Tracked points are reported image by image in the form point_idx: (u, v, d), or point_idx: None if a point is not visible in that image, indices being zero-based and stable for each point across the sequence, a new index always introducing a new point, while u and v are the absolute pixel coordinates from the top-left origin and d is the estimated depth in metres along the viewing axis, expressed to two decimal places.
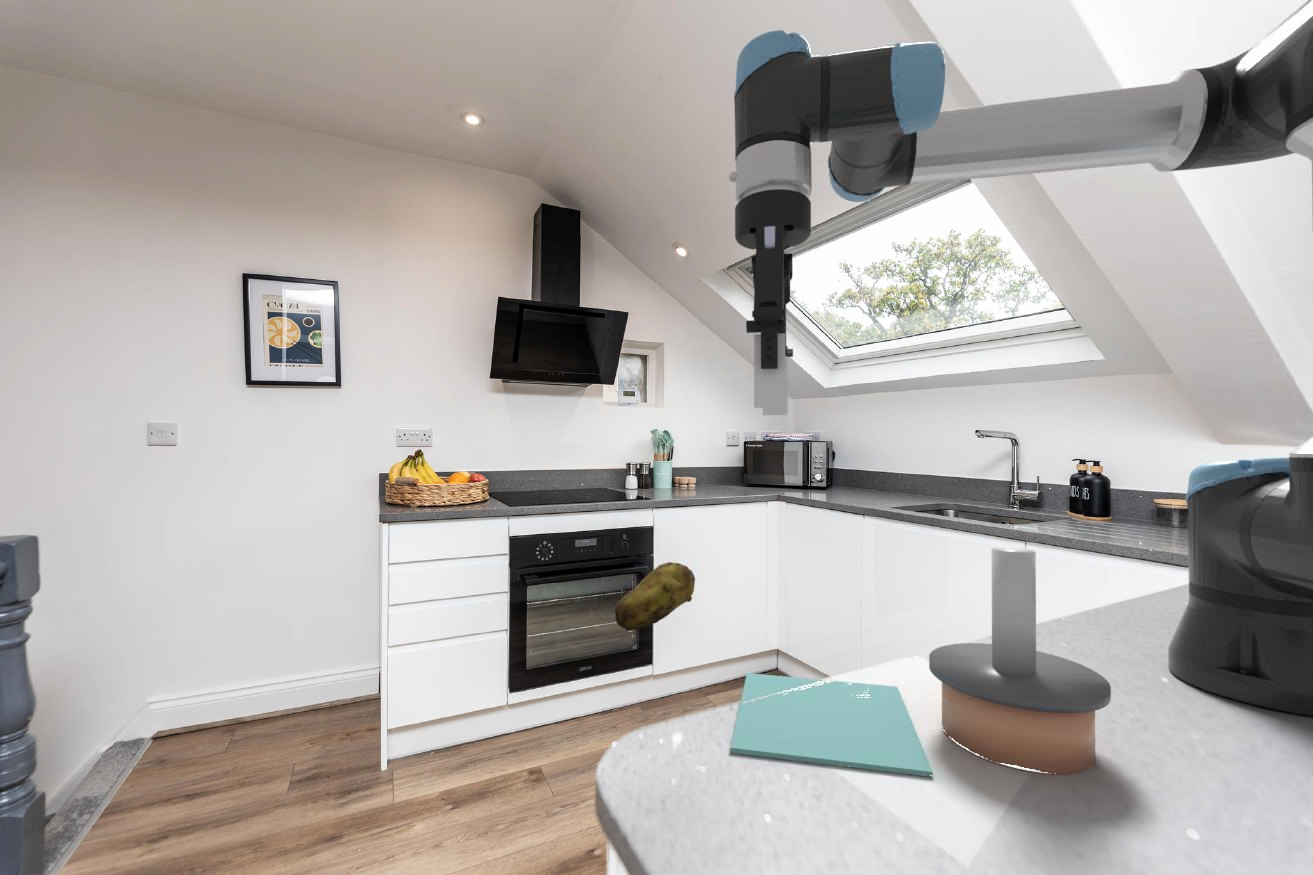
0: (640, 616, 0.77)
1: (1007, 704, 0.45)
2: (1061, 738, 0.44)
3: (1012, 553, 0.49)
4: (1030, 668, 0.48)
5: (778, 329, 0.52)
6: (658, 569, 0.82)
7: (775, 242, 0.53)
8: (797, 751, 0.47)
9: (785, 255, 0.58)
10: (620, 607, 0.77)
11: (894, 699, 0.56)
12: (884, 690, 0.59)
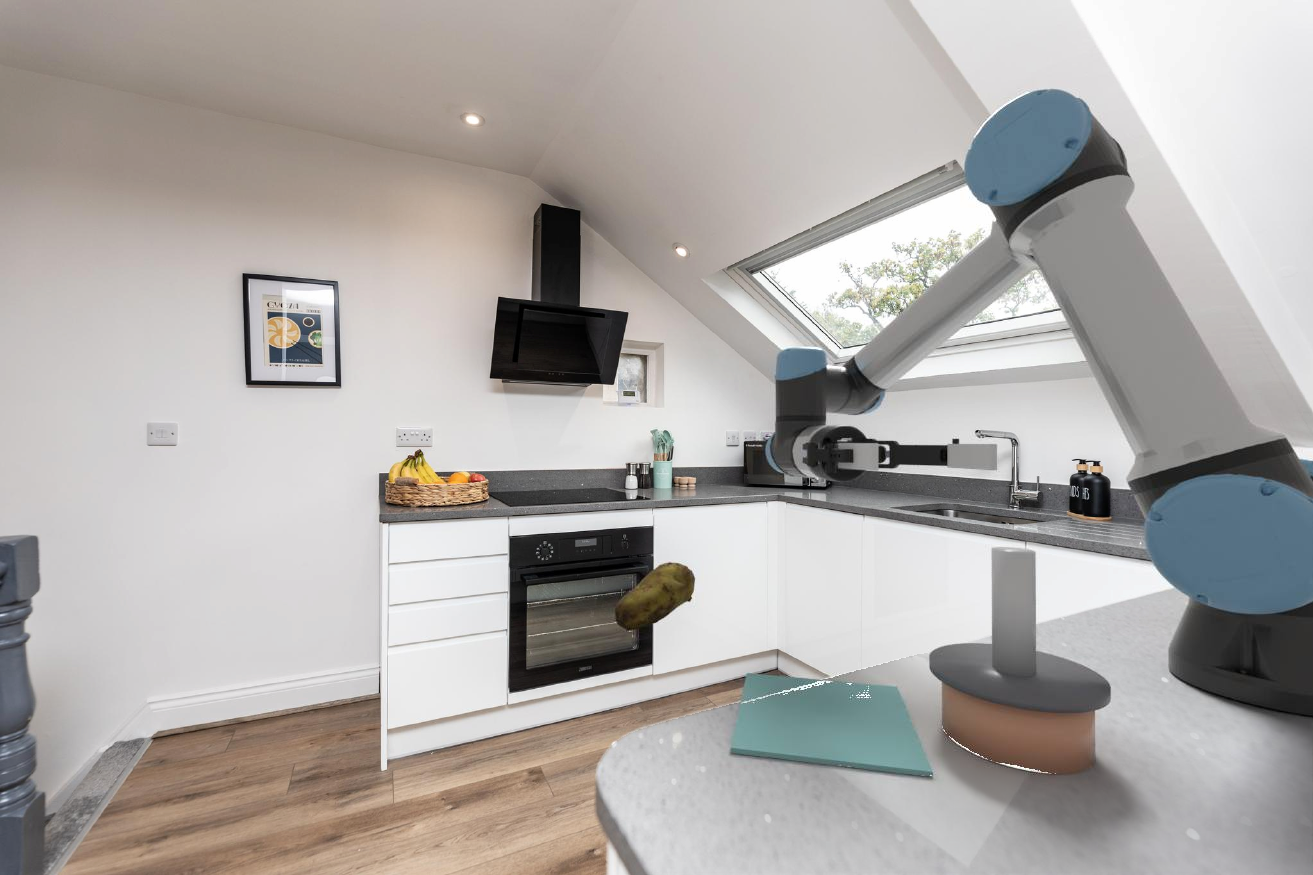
0: (640, 616, 0.77)
1: (1007, 704, 0.45)
2: (1061, 738, 0.44)
3: (1012, 553, 0.49)
4: (1030, 668, 0.48)
5: (829, 447, 0.65)
6: (658, 569, 0.82)
7: (806, 449, 0.73)
8: (797, 751, 0.47)
9: None
10: (620, 607, 0.77)
11: (894, 699, 0.56)
12: (884, 690, 0.59)
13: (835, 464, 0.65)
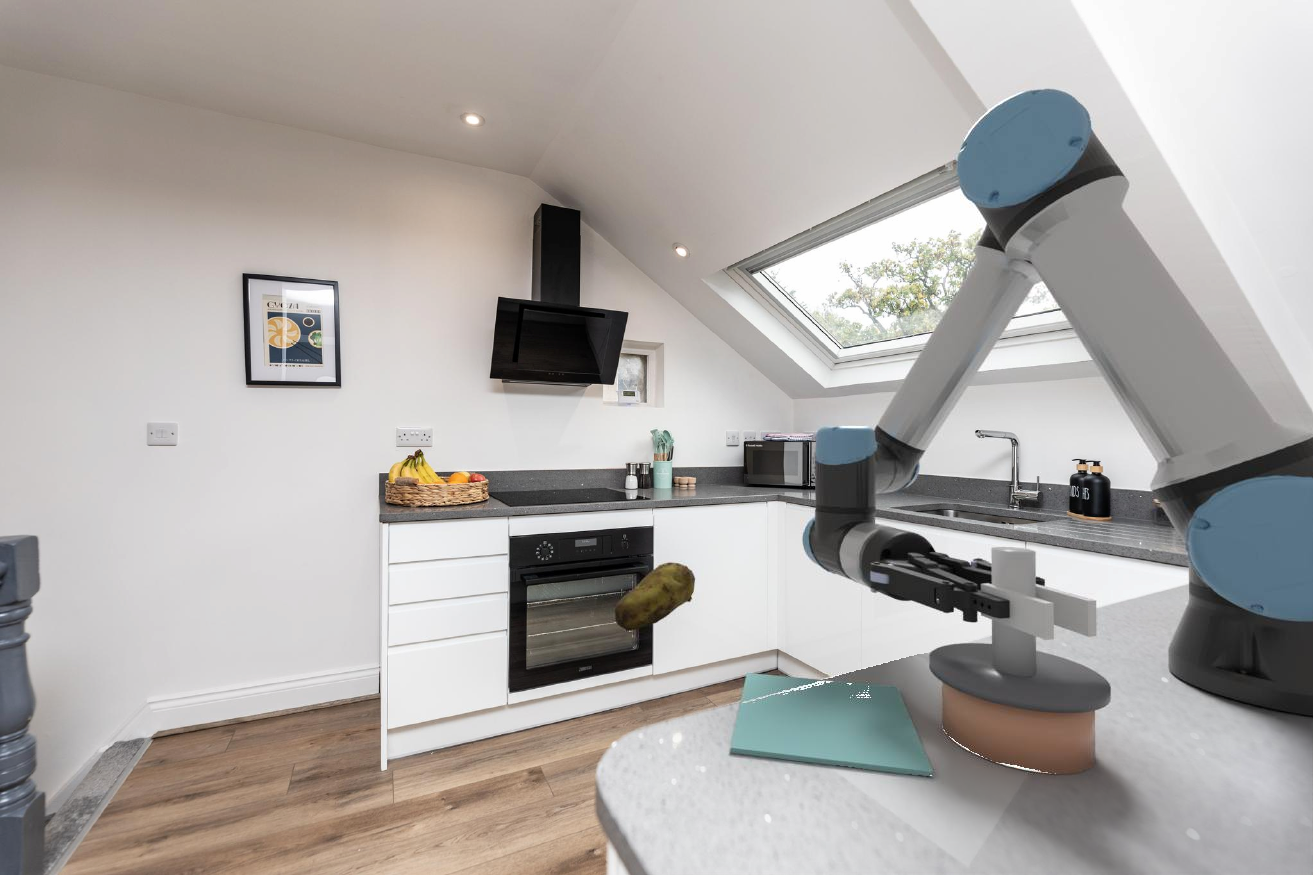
0: (640, 616, 0.76)
1: (1007, 704, 0.45)
2: (1061, 738, 0.44)
3: (1012, 553, 0.49)
4: (1030, 668, 0.48)
5: (970, 589, 0.51)
6: (658, 569, 0.82)
7: (884, 573, 0.58)
8: (797, 751, 0.47)
9: (908, 560, 0.61)
10: (620, 607, 0.77)
11: (894, 699, 0.56)
12: (884, 690, 0.59)
13: None
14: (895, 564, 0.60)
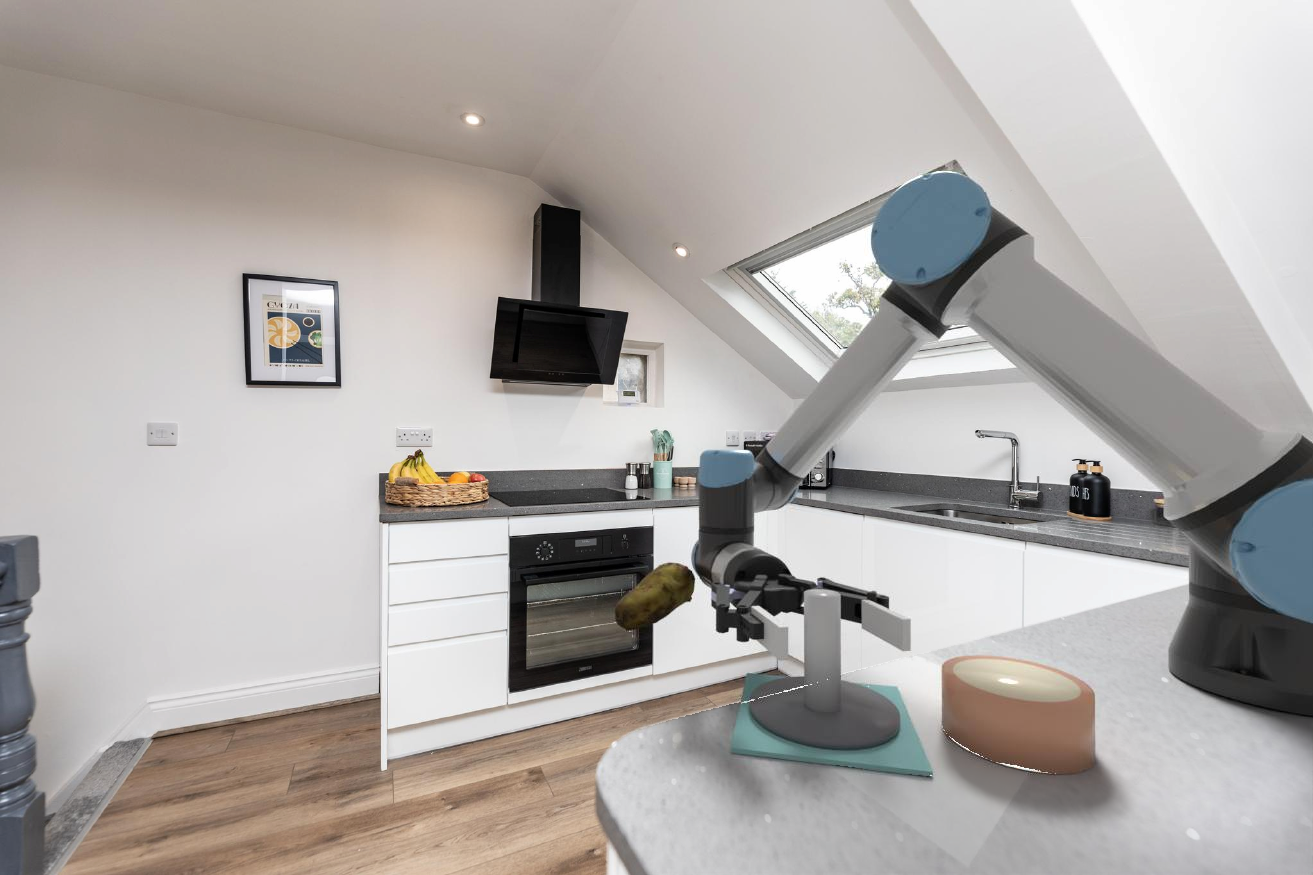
0: (640, 616, 0.76)
1: (795, 741, 0.48)
2: (1061, 738, 0.44)
3: (816, 597, 0.52)
4: (832, 705, 0.52)
5: (741, 611, 0.55)
6: (658, 569, 0.82)
7: (715, 593, 0.63)
8: (797, 751, 0.47)
9: None
10: (620, 607, 0.77)
11: (894, 699, 0.56)
12: (884, 690, 0.59)
13: None
14: (739, 585, 0.64)
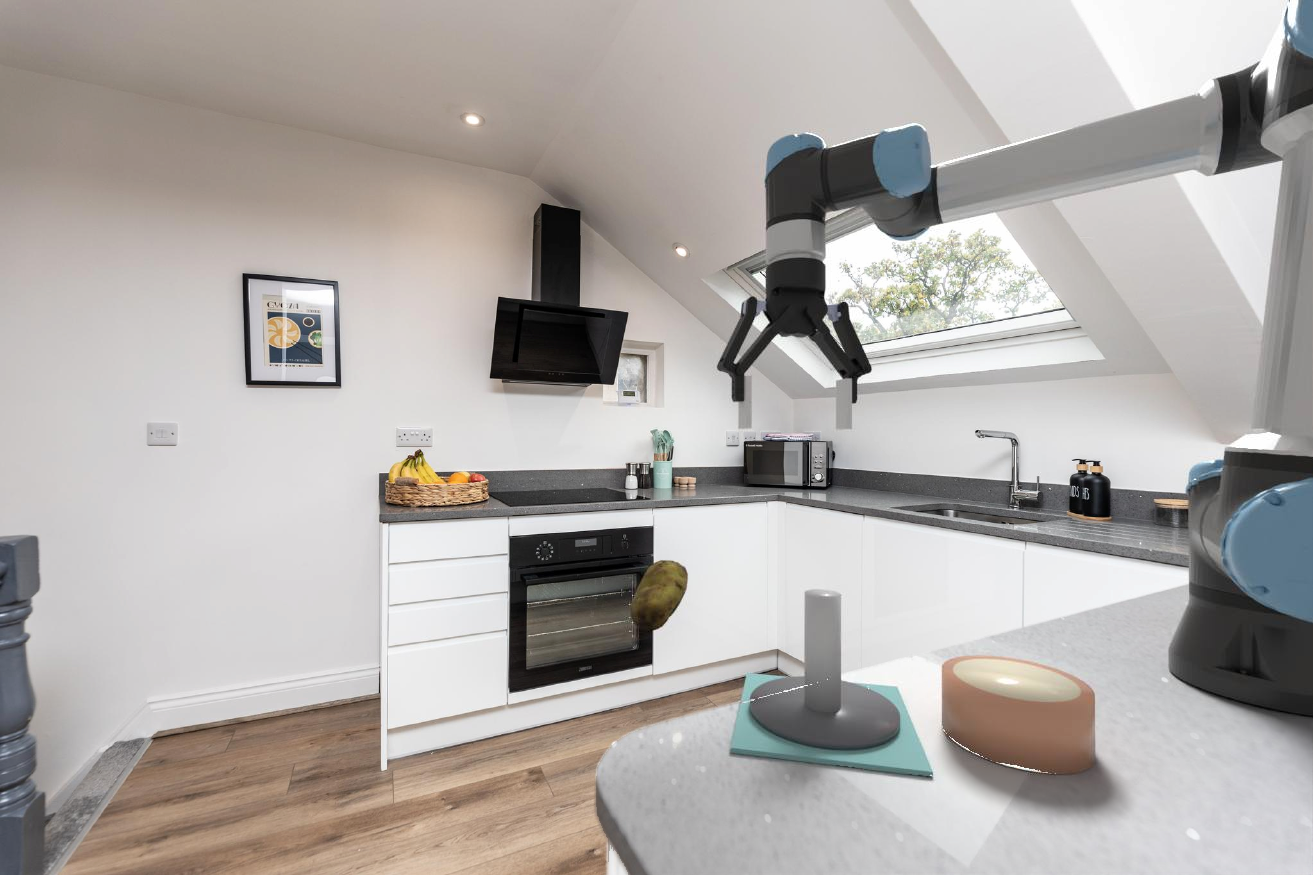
0: (666, 615, 0.77)
1: (794, 741, 0.48)
2: (1061, 738, 0.44)
3: (817, 597, 0.52)
4: (832, 705, 0.52)
5: (737, 374, 0.73)
6: (660, 567, 0.83)
7: (745, 310, 0.74)
8: (797, 751, 0.47)
9: (786, 308, 0.74)
10: (647, 609, 0.76)
11: (894, 699, 0.56)
12: (884, 690, 0.59)
13: None
14: (769, 309, 0.74)
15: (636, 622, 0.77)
